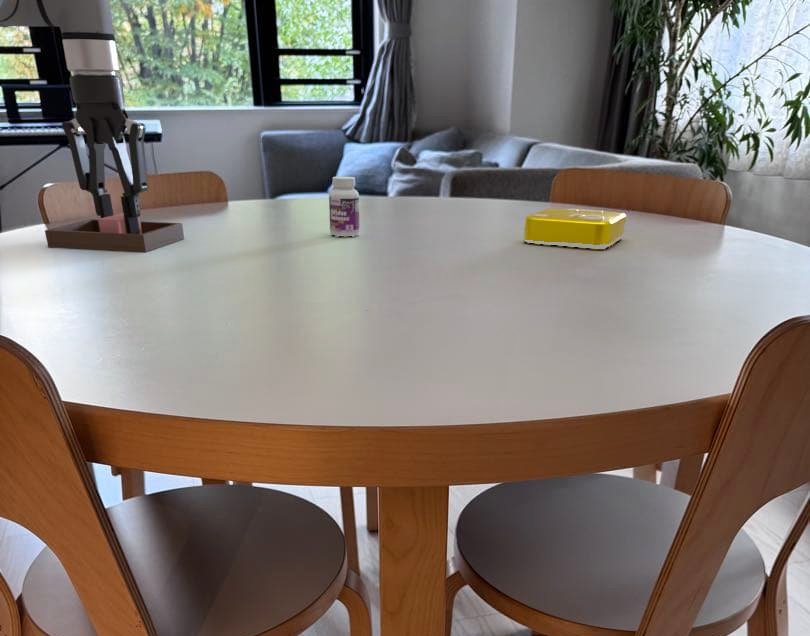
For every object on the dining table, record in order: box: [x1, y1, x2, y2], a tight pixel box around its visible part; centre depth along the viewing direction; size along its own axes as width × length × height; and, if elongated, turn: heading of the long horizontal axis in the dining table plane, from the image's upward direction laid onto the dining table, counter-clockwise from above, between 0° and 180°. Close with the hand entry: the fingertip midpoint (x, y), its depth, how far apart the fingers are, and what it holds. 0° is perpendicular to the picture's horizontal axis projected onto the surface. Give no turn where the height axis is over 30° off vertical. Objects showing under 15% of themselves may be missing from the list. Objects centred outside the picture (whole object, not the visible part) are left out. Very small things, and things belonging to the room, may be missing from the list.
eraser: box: [98, 213, 142, 234], centre depth 126 cm, size 7×4×4 cm, turn 168°
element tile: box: [523, 207, 627, 251], centre depth 133 cm, size 15×15×5 cm
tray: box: [44, 218, 185, 253], centre depth 128 cm, size 18×14×3 cm
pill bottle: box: [328, 175, 360, 238], centre depth 135 cm, size 5×5×10 cm
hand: (122, 237), depth 127 cm, fingers closed on eraser, 4 cm apart
